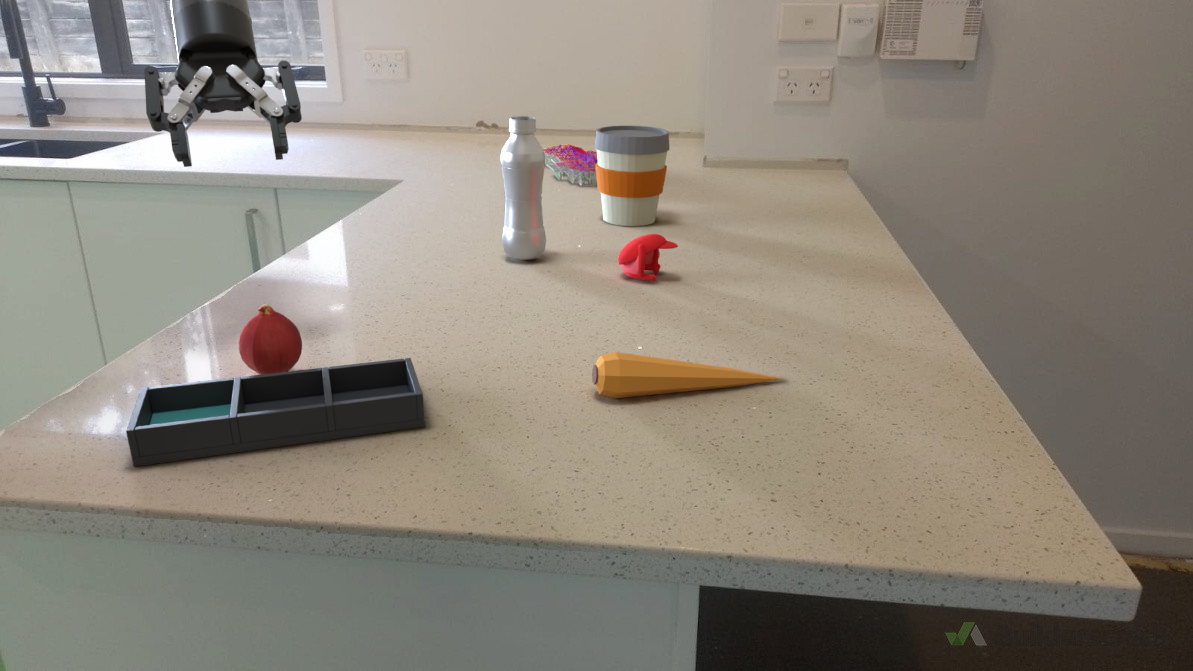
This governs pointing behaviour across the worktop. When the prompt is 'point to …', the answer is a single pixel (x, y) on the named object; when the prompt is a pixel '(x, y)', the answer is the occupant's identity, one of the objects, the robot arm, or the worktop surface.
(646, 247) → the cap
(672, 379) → the carrot
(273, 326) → the onion
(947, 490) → the worktop surface
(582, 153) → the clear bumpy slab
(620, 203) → the reusable coffee cup
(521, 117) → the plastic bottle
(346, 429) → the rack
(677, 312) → the worktop surface
